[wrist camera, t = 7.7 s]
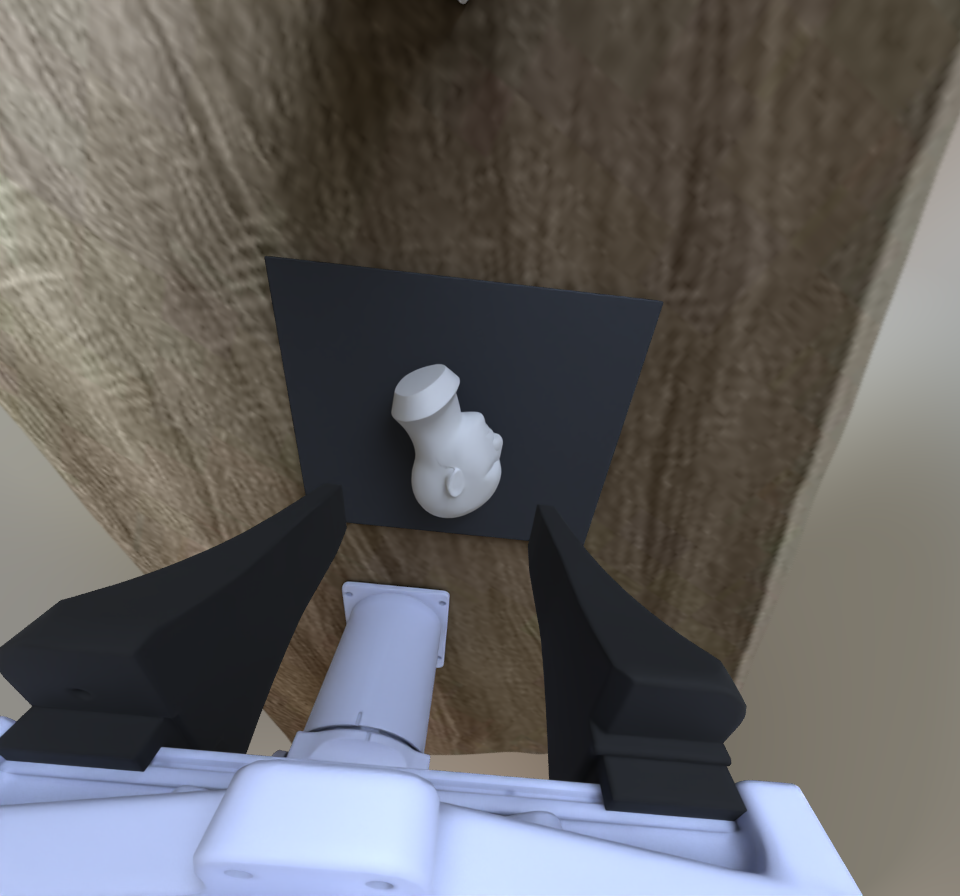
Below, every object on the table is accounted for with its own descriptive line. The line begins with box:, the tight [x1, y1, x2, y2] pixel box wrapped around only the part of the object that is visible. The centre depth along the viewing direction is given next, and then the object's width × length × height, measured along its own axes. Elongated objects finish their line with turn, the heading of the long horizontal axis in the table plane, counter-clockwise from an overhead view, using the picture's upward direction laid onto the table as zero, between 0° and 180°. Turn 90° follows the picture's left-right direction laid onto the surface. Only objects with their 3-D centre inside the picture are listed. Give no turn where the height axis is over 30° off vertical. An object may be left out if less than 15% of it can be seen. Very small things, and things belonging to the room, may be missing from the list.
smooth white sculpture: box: [391, 364, 503, 518], centre depth 17 cm, size 4×8×5 cm
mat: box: [265, 256, 663, 545], centre depth 19 cm, size 15×18×1 cm
